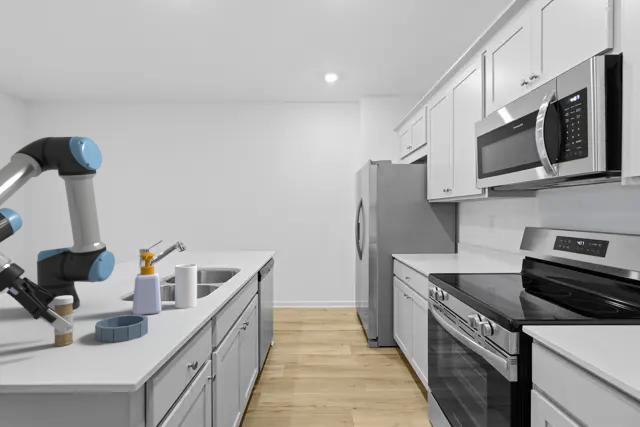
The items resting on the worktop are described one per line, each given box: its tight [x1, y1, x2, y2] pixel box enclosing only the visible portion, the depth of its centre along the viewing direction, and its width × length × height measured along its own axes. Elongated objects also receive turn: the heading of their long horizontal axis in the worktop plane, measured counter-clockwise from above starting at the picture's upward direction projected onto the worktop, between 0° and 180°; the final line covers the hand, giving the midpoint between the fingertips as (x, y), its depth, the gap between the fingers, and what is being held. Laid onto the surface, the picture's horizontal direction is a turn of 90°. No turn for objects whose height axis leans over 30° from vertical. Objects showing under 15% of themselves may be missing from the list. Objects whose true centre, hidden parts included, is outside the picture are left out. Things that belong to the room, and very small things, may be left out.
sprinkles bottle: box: [53, 295, 74, 347], centre depth 107 cm, size 5×5×14 cm
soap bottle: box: [132, 251, 162, 316], centre depth 138 cm, size 10×14×22 cm
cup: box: [174, 263, 198, 309], centre depth 149 cm, size 8×8×16 cm
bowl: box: [94, 314, 149, 343], centre depth 115 cm, size 14×14×4 cm
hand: (68, 321), depth 107 cm, fingers open, 13 cm apart
